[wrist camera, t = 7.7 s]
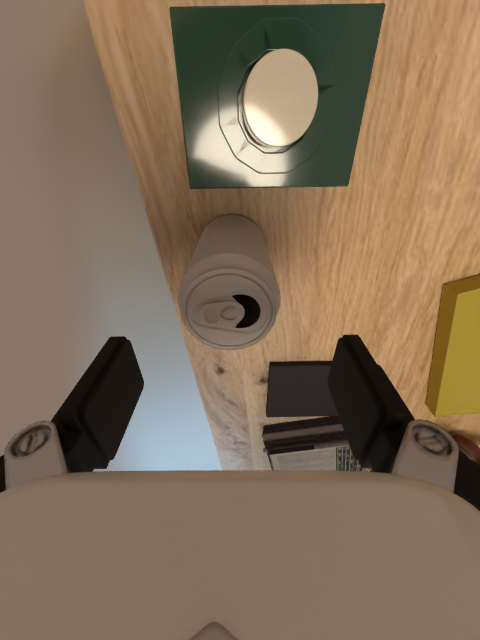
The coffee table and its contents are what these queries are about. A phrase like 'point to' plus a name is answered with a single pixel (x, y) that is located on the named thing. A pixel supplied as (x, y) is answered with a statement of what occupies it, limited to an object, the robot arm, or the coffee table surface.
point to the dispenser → (230, 80)
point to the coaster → (299, 390)
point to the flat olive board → (456, 351)
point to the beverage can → (230, 286)
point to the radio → (309, 446)
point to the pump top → (280, 98)
